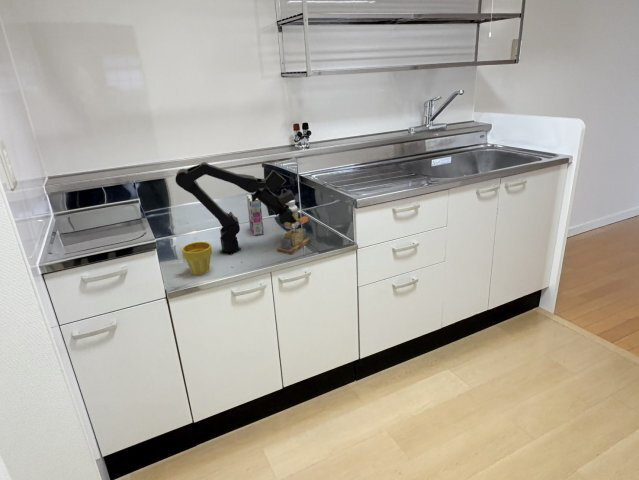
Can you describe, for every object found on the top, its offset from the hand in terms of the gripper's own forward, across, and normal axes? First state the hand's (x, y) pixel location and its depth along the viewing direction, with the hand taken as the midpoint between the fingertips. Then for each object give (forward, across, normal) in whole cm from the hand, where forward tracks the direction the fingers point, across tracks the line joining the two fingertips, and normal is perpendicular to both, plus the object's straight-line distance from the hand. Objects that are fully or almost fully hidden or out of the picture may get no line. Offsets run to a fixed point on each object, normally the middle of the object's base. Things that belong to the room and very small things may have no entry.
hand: (296, 222), depth 172 cm
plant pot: (-21, -15, +36) cm, 44 cm away
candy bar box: (-4, +19, +17) cm, 26 cm away
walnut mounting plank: (+4, -5, +8) cm, 10 cm away
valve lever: (0, -2, 0) cm, 2 cm away
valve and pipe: (+3, -5, +7) cm, 9 cm away
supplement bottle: (+7, +18, +5) cm, 20 cm away
